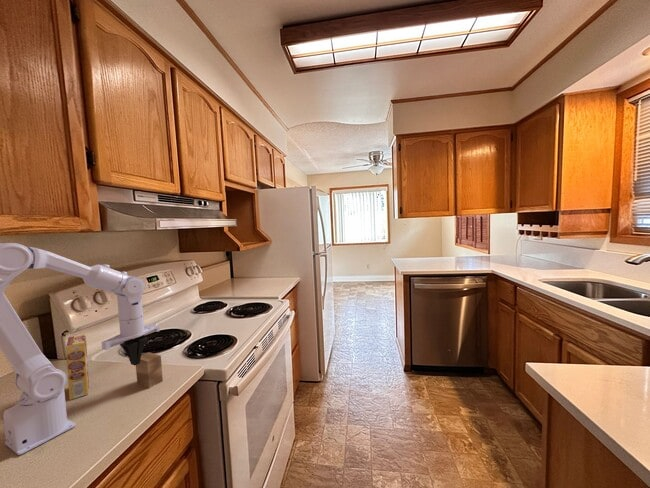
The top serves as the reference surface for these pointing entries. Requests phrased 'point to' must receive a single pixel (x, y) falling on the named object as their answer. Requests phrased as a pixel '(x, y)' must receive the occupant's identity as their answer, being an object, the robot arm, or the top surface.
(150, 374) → the walnut block
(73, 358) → the candy box
